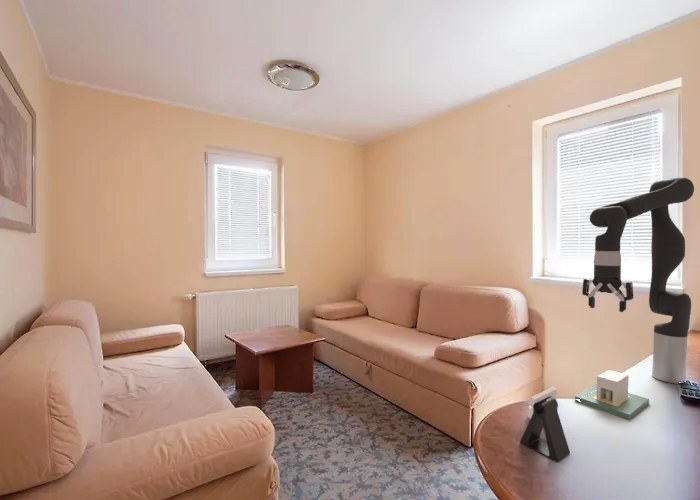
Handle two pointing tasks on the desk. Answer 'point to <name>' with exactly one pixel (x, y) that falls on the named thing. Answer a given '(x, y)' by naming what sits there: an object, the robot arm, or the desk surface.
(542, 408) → the phone stand
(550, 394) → the white wedge bracket
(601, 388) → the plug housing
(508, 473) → the desk surface
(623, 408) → the header board
